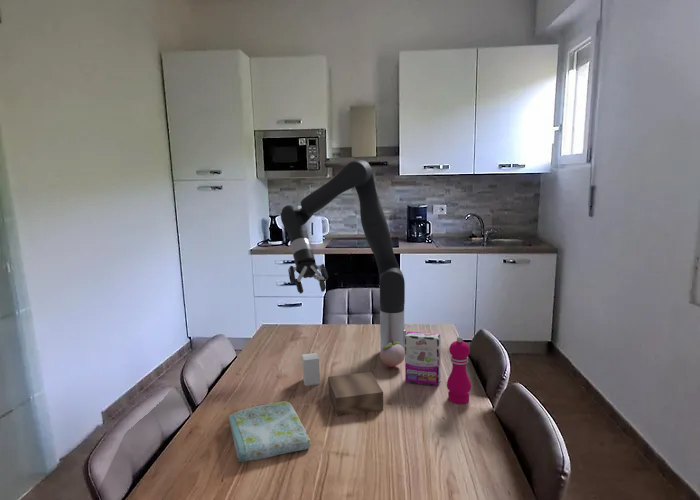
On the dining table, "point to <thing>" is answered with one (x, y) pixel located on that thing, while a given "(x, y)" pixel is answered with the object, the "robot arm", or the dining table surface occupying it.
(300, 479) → the dining table surface
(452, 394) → the pepper mill
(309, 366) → the pale grey block
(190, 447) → the dining table surface
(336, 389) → the walnut block
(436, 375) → the candy bar box
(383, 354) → the decorative fruit
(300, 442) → the towel
